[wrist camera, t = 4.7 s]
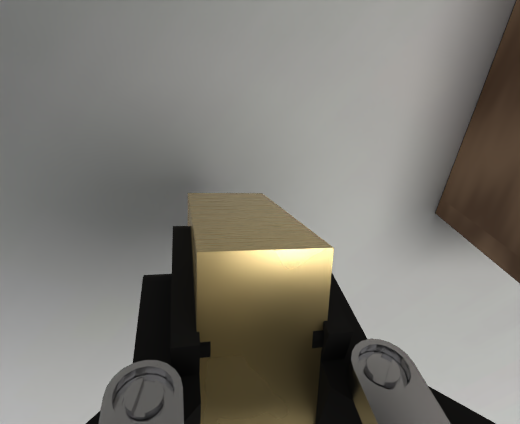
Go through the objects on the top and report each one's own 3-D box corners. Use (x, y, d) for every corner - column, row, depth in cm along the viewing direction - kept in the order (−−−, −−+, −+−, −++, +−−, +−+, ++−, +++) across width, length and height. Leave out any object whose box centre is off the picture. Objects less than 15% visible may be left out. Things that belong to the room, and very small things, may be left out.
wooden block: (187, 193, 12) (197, 251, 6) (262, 193, 12) (333, 247, 7) (188, 331, 13) (195, 490, 7) (256, 326, 13) (314, 470, 8)
